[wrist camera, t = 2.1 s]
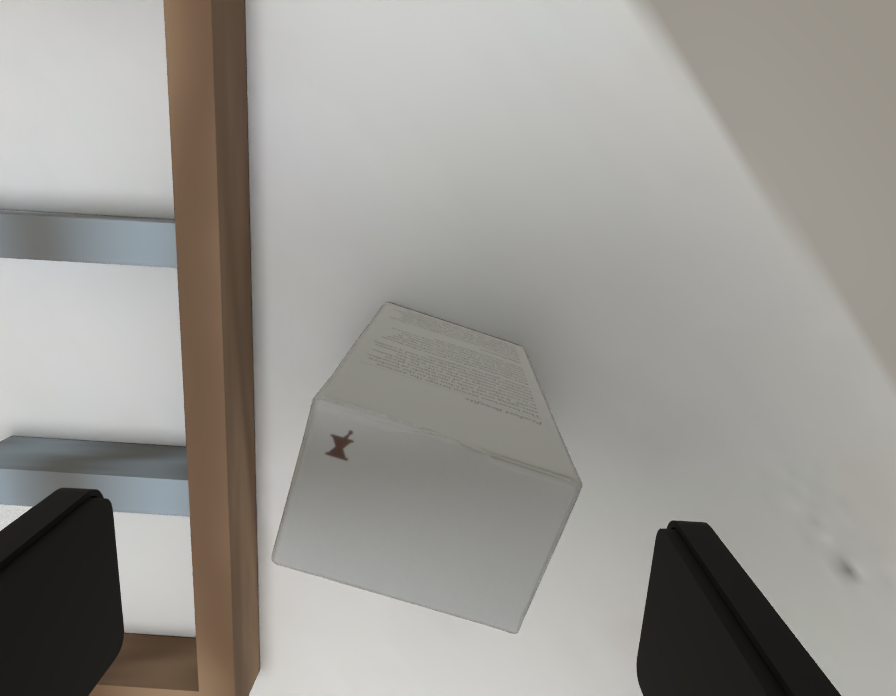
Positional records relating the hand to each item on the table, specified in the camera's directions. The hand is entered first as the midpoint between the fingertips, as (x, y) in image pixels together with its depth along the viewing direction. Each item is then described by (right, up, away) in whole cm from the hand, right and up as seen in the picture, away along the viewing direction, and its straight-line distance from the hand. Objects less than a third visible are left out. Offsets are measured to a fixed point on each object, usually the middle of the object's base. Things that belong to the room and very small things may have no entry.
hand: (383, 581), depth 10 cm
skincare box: (+1, +3, +14) cm, 15 cm away
